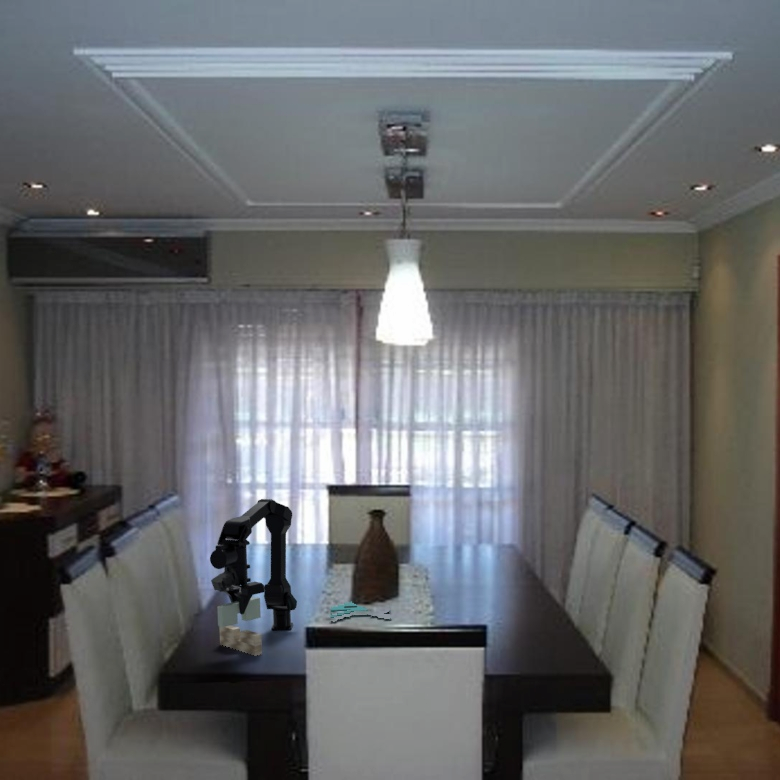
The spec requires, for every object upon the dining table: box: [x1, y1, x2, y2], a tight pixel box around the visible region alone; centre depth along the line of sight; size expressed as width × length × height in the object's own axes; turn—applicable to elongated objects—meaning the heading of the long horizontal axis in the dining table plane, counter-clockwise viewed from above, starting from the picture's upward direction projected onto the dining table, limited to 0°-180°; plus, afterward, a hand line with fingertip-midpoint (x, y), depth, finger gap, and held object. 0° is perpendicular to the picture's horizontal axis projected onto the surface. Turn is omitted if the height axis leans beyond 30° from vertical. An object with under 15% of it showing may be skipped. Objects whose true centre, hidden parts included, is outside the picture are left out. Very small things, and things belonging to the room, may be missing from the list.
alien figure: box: [329, 600, 391, 619], centre depth 331 cm, size 20×2×20 cm
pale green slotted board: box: [216, 596, 262, 627], centre depth 293 cm, size 14×2×6 cm, turn 135°
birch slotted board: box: [218, 625, 263, 657], centre depth 293 cm, size 18×2×6 cm, turn 45°
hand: (239, 613), depth 293 cm, fingers closed on pale green slotted board, 2 cm apart
